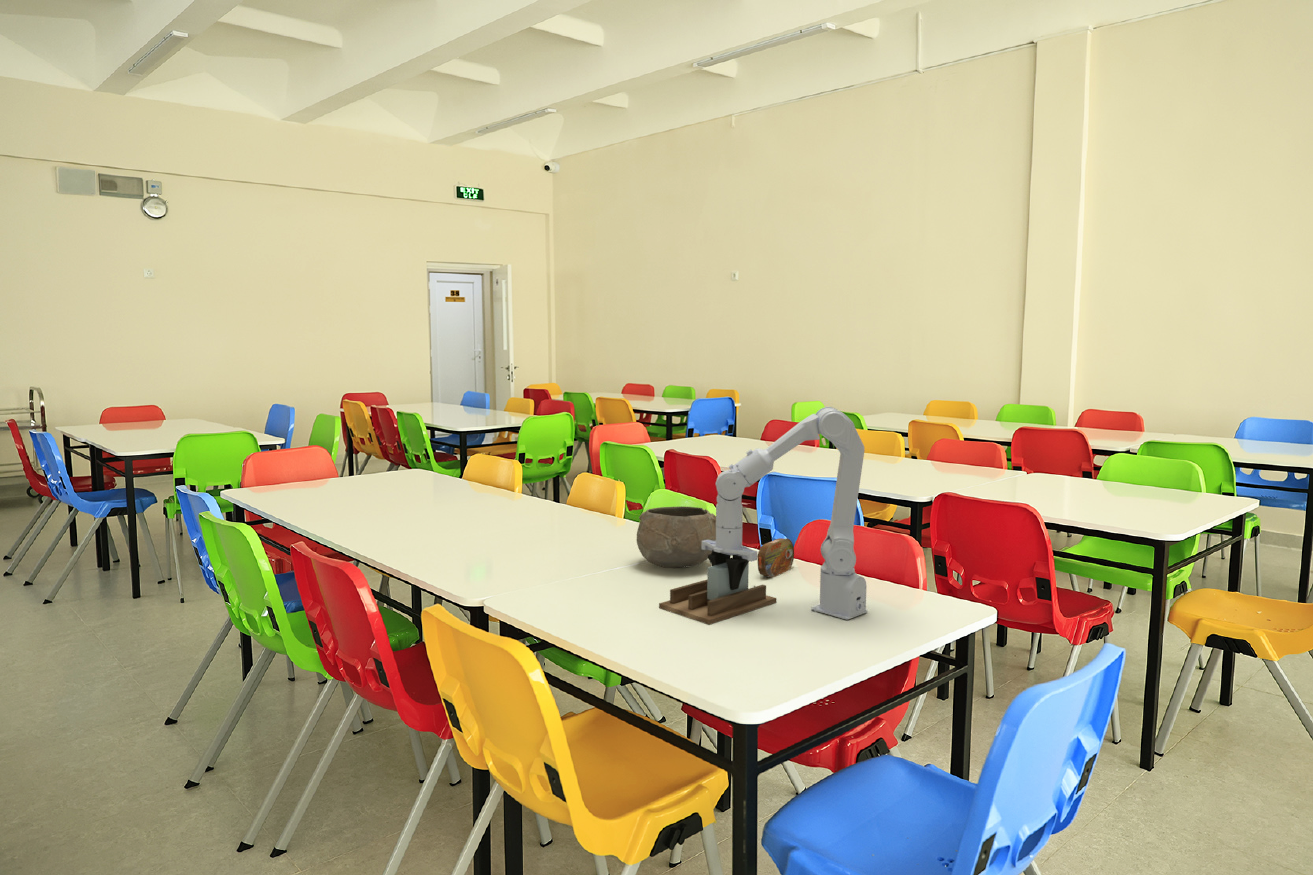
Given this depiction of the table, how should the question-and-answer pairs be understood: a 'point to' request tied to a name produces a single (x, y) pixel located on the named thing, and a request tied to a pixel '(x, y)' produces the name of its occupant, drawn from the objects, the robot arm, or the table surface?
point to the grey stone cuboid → (723, 581)
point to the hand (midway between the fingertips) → (728, 587)
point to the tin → (775, 557)
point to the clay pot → (675, 535)
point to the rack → (714, 602)
